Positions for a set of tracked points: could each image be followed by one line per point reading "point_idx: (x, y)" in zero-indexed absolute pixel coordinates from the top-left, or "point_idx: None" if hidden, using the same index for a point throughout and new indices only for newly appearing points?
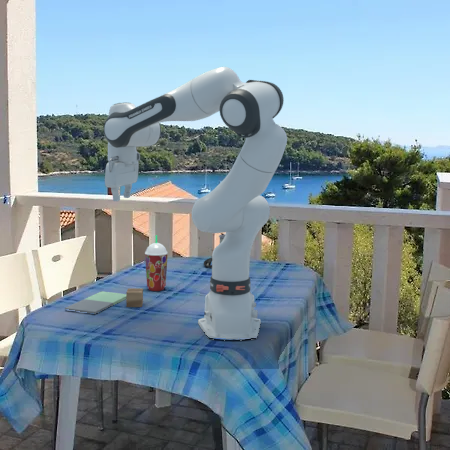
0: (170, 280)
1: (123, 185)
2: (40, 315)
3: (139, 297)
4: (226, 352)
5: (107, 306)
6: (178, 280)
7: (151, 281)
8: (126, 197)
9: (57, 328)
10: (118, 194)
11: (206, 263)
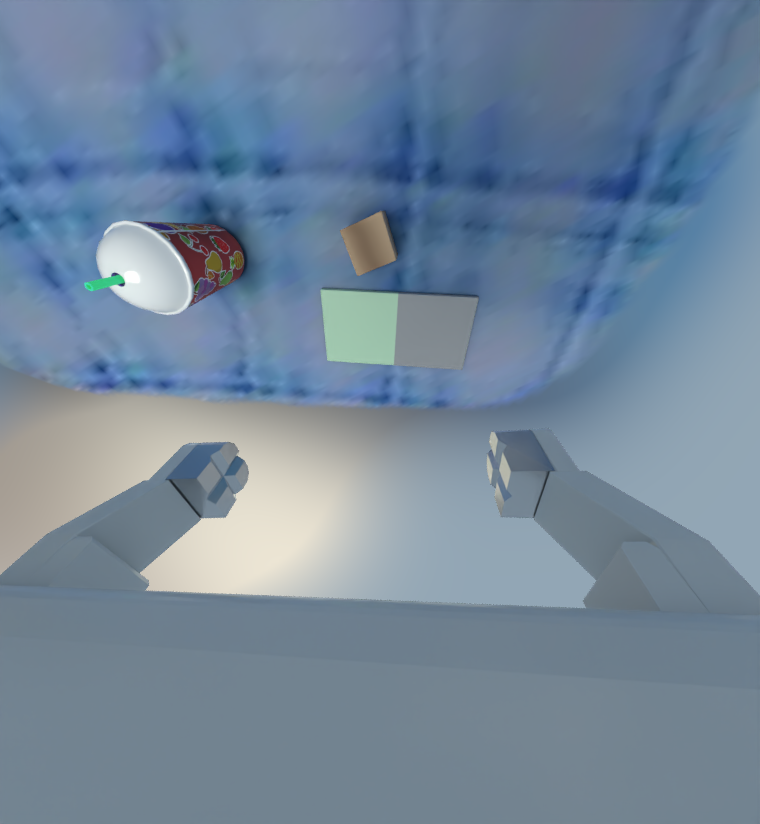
0: None
1: (509, 609)
2: (495, 391)
3: (384, 218)
4: None
5: (425, 294)
6: None
7: (235, 260)
8: (236, 456)
9: (578, 325)
10: (588, 483)
11: None
